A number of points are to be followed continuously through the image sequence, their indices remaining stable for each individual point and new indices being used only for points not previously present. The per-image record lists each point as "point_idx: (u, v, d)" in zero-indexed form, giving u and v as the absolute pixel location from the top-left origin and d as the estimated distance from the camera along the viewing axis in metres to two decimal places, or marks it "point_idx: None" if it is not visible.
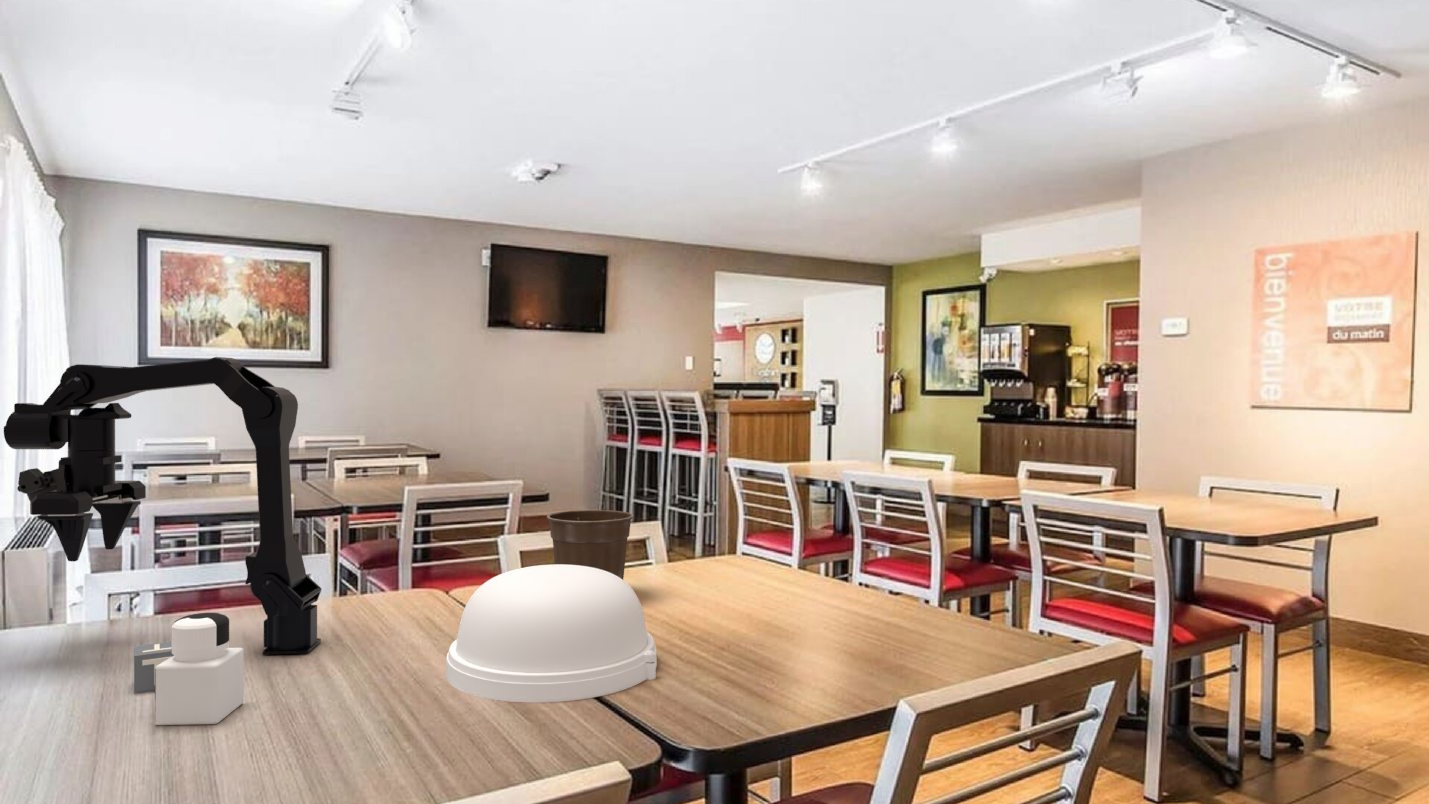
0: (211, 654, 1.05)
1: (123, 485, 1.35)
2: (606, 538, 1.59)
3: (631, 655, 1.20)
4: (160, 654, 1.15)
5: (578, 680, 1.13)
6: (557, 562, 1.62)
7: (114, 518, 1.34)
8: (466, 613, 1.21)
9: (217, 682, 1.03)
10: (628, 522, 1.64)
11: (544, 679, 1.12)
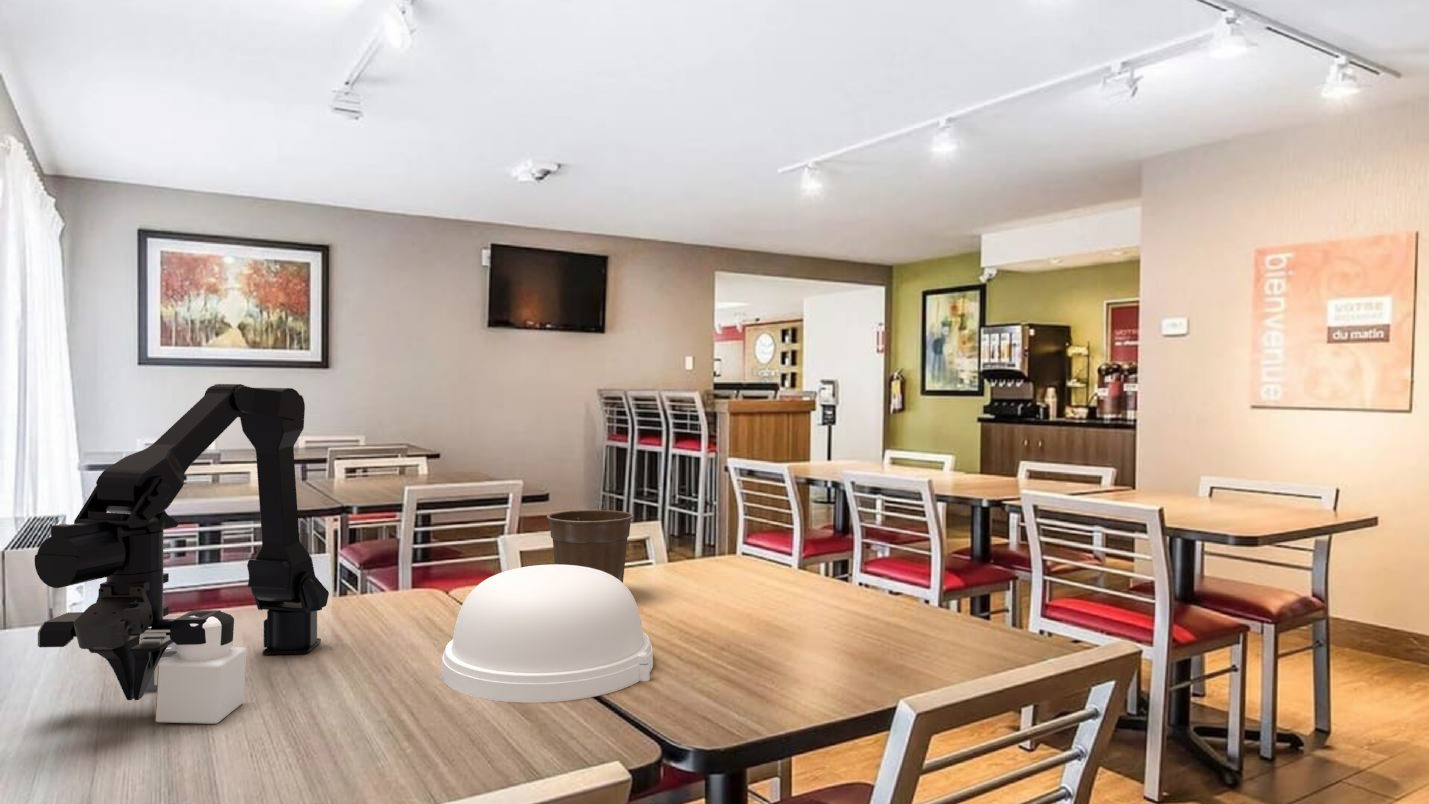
0: (215, 653, 1.05)
1: None
2: (606, 538, 1.59)
3: (624, 657, 1.19)
4: None
5: (569, 681, 1.13)
6: (557, 562, 1.62)
7: (131, 659, 1.06)
8: (461, 612, 1.21)
9: (220, 682, 1.03)
10: (628, 522, 1.64)
11: (534, 679, 1.12)
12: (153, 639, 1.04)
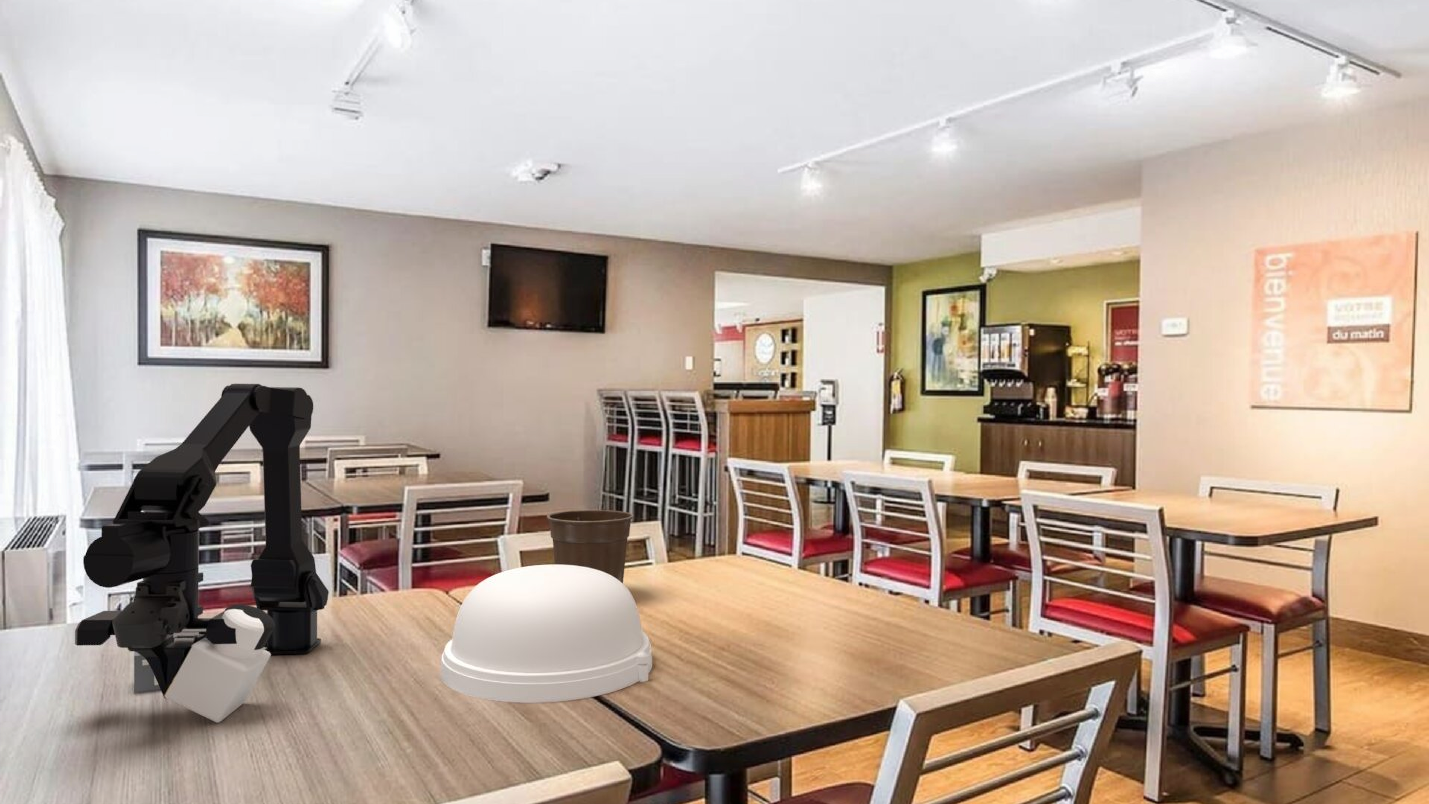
0: (245, 655, 1.05)
1: None
2: (606, 538, 1.59)
3: (623, 657, 1.19)
4: None
5: (567, 681, 1.13)
6: (557, 562, 1.62)
7: None
8: (460, 612, 1.21)
9: (239, 686, 1.03)
10: (628, 522, 1.64)
11: (533, 679, 1.12)
12: (186, 638, 1.05)
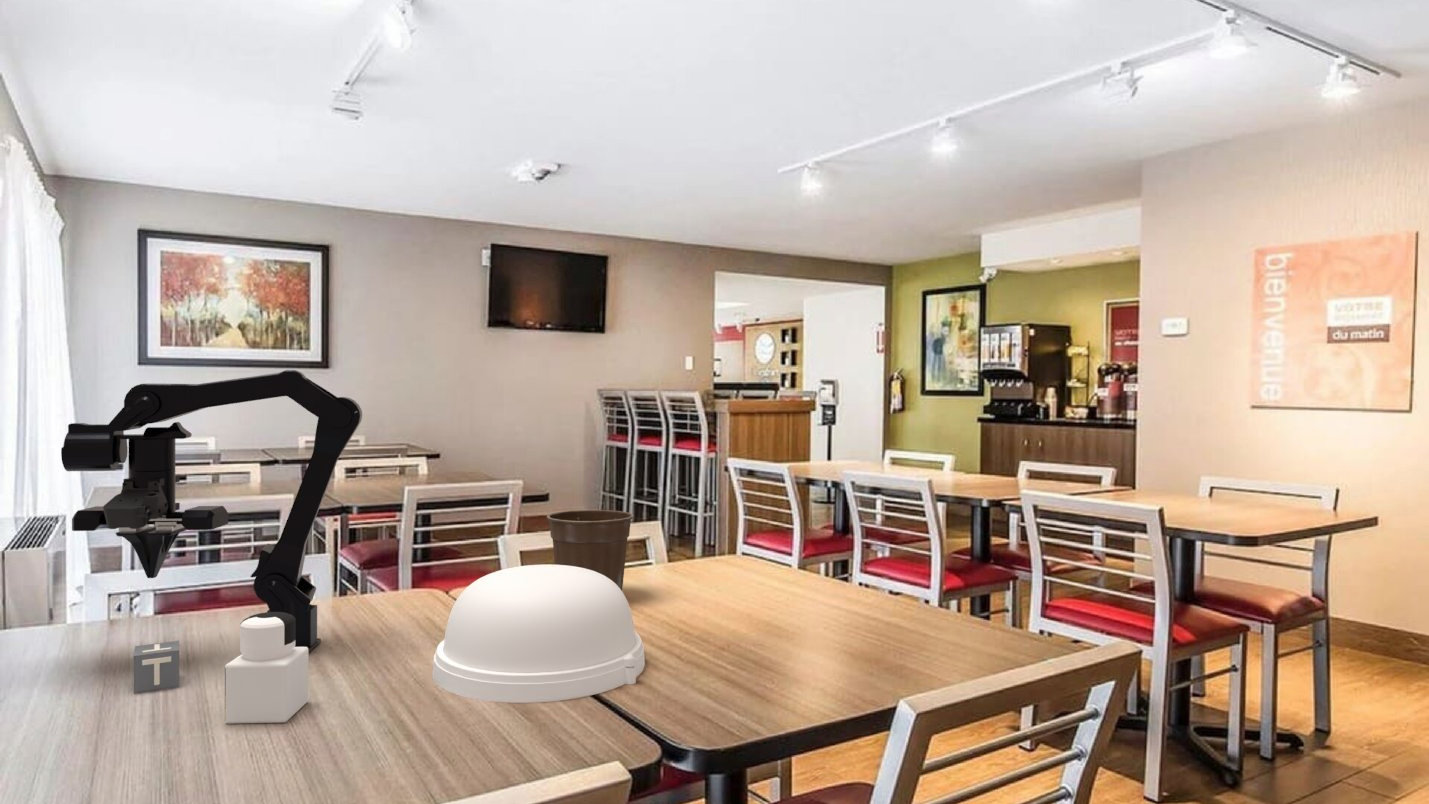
0: (279, 653, 1.05)
1: None
2: (606, 538, 1.59)
3: (609, 659, 1.18)
4: (160, 654, 1.15)
5: (549, 682, 1.12)
6: (557, 562, 1.62)
7: (151, 544, 1.27)
8: (452, 610, 1.22)
9: (286, 680, 1.04)
10: (628, 522, 1.64)
11: (514, 679, 1.12)
12: (166, 526, 1.25)
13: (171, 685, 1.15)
